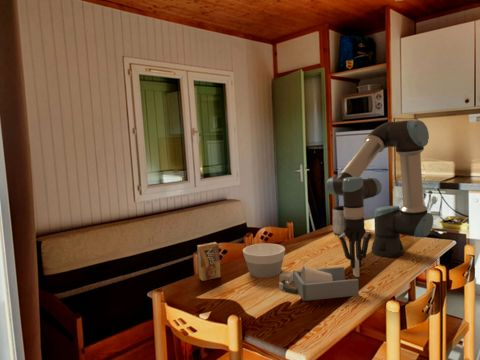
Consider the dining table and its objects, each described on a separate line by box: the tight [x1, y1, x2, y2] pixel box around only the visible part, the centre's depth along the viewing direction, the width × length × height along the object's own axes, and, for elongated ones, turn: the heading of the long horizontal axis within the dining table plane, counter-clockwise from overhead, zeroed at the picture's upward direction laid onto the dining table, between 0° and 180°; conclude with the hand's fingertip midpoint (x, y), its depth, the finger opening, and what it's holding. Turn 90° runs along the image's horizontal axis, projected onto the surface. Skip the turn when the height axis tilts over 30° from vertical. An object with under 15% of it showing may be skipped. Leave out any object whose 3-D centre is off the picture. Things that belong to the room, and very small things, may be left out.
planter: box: [332, 205, 345, 236], centre depth 234 cm, size 16×16×16 cm
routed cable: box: [281, 280, 298, 294], centre depth 156 cm, size 5×13×1 cm, turn 6°
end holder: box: [292, 266, 360, 302], centre depth 151 cm, size 21×15×6 cm
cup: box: [301, 265, 333, 284], centre depth 152 cm, size 10×10×11 cm
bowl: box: [242, 243, 286, 279], centre depth 175 cm, size 19×19×11 cm
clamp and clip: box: [278, 271, 293, 291], centre depth 160 cm, size 8×12×3 cm, turn 6°
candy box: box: [196, 241, 221, 281], centre depth 171 cm, size 9×4×15 cm, turn 116°
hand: (356, 275), depth 153 cm, fingers closed
